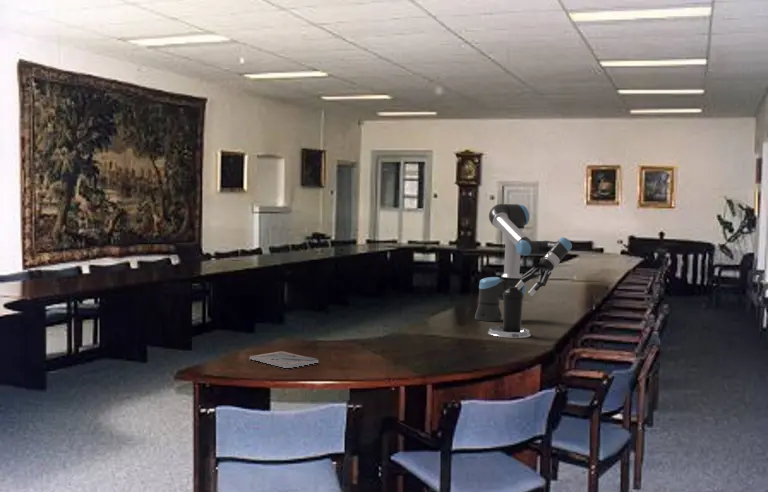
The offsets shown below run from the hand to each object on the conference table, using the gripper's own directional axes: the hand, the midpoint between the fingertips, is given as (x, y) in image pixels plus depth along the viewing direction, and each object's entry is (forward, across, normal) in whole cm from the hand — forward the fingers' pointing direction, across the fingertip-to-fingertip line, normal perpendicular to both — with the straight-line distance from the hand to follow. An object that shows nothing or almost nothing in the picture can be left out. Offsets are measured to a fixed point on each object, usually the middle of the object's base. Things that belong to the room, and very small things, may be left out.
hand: (522, 292), depth 395 cm
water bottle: (+18, 0, +11) cm, 21 cm away
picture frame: (+109, +37, -79) cm, 140 cm away
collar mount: (+19, 0, +10) cm, 22 cm away
